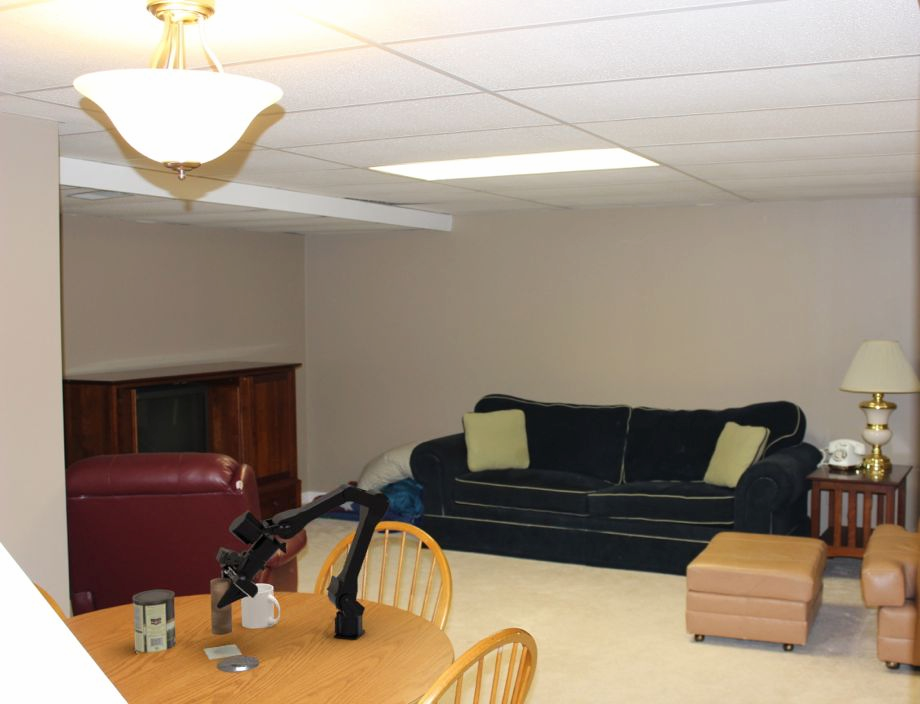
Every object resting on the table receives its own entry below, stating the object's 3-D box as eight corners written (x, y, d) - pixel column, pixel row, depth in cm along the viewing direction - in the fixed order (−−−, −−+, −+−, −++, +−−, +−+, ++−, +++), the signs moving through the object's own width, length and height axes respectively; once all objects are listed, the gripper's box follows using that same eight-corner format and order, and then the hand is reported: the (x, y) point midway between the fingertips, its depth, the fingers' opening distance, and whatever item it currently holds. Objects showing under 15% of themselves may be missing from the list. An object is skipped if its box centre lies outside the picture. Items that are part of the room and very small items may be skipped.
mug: (269, 636, 268) (268, 596, 267) (235, 629, 274) (234, 590, 273) (290, 626, 275) (289, 587, 274) (256, 619, 281) (255, 581, 280)
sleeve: (235, 629, 255) (234, 578, 254) (225, 635, 250) (224, 584, 250) (218, 627, 257) (217, 577, 256) (207, 633, 252) (206, 582, 251)
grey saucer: (266, 663, 249) (266, 658, 249) (246, 678, 239) (246, 673, 239) (230, 659, 252) (230, 654, 251) (209, 673, 242) (209, 669, 242)
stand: (235, 647, 259) (235, 644, 259) (242, 658, 252) (242, 654, 252) (203, 652, 256) (203, 649, 256) (209, 663, 249) (209, 659, 249)
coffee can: (162, 639, 266) (161, 586, 265) (183, 648, 259) (182, 594, 258) (126, 649, 259) (124, 595, 258) (147, 659, 252) (145, 604, 251)
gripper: (227, 528, 262) (185, 575, 258) (243, 544, 245) (198, 595, 241) (258, 554, 266) (216, 601, 262) (276, 572, 249) (232, 623, 245)
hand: (215, 604), depth 252 cm, fingers closed on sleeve, 5 cm apart
